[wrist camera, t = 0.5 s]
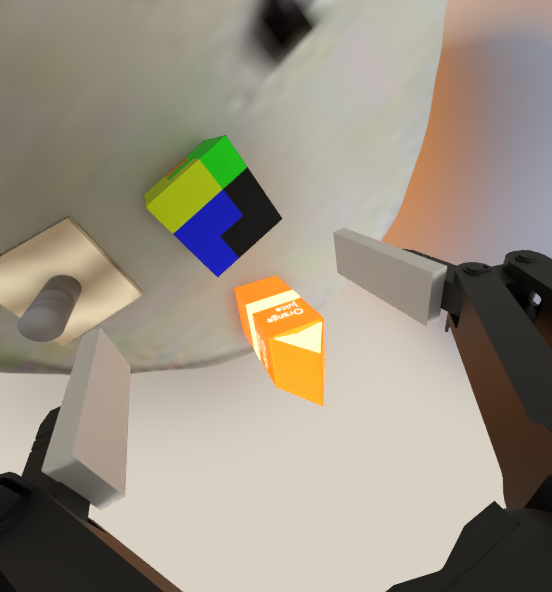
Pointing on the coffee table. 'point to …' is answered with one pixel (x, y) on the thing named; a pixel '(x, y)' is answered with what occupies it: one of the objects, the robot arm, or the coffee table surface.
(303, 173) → the coffee table surface
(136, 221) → the coffee table surface
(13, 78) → the coffee table surface
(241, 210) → the puzzle toy
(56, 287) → the shaft block
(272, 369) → the orange juice
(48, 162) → the coffee table surface
